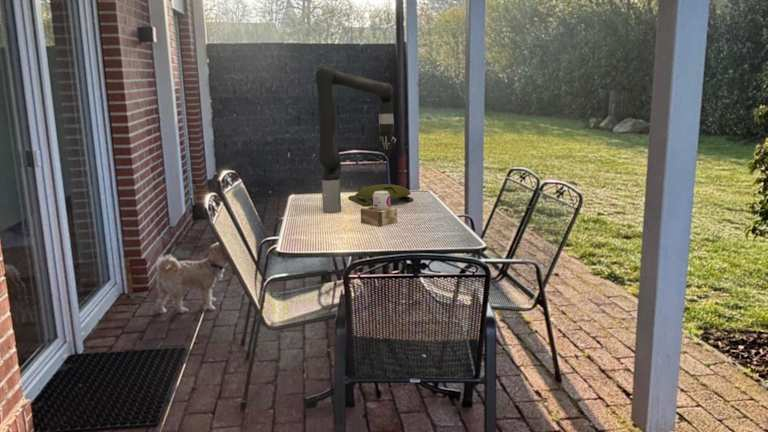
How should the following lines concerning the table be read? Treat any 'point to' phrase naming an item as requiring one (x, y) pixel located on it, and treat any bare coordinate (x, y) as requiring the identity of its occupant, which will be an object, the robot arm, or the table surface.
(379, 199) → the supplement can
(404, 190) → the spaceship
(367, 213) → the cradle
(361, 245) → the table surface
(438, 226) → the table surface
